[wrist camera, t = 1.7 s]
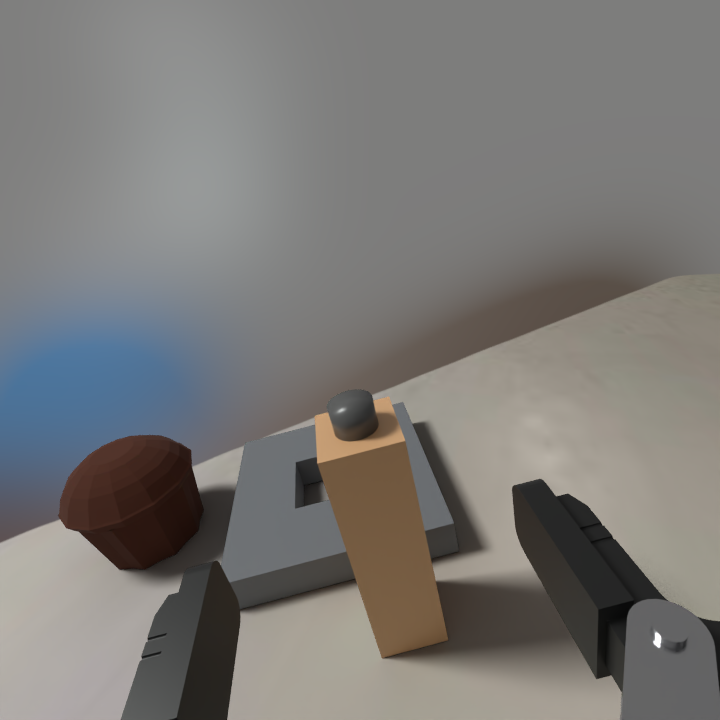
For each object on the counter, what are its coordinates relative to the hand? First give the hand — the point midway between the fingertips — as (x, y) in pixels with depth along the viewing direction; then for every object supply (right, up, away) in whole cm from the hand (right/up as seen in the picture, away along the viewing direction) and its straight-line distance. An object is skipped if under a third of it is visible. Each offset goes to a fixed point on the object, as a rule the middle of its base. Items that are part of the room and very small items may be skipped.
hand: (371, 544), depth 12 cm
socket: (-2, -8, +30) cm, 31 cm away
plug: (+3, -13, +18) cm, 23 cm away
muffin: (-20, -12, +32) cm, 39 cm away
